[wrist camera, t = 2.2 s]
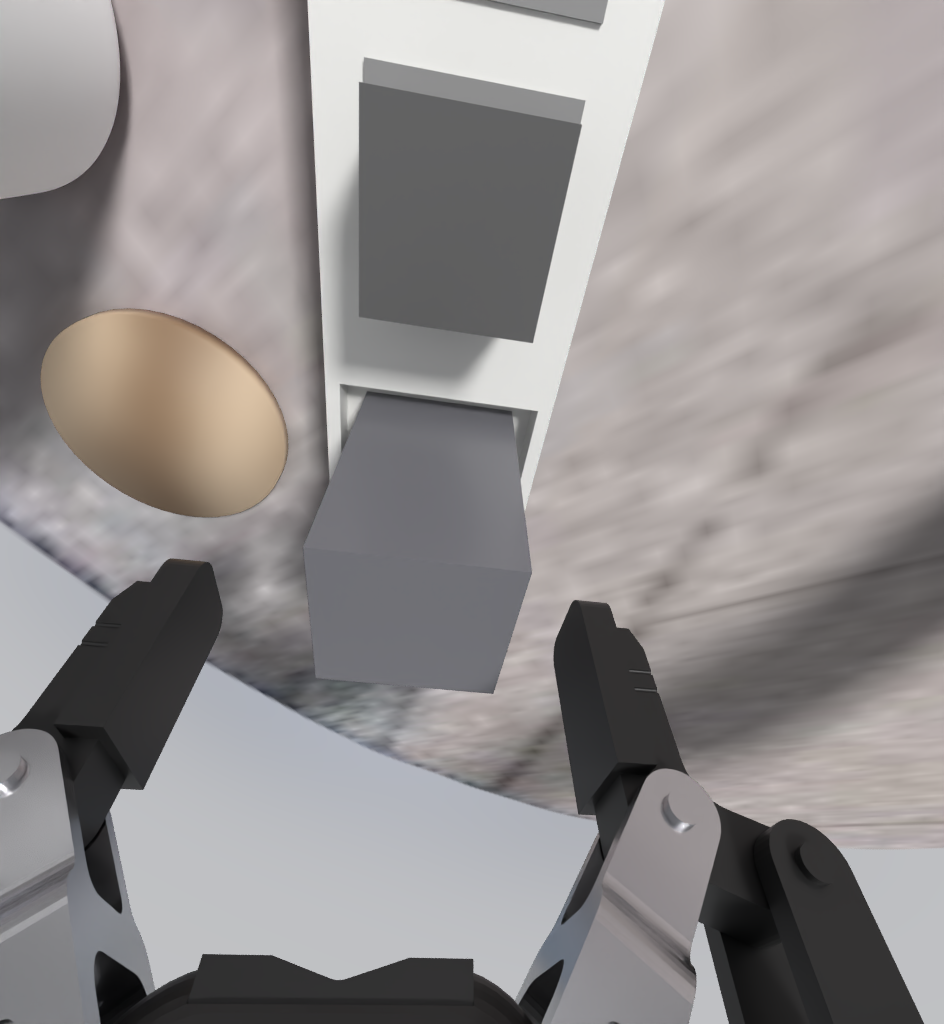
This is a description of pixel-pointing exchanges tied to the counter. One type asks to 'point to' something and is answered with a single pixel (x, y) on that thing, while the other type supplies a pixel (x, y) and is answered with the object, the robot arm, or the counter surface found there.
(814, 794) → the counter surface
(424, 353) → the power strip
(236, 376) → the coaster
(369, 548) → the block
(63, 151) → the beverage can
